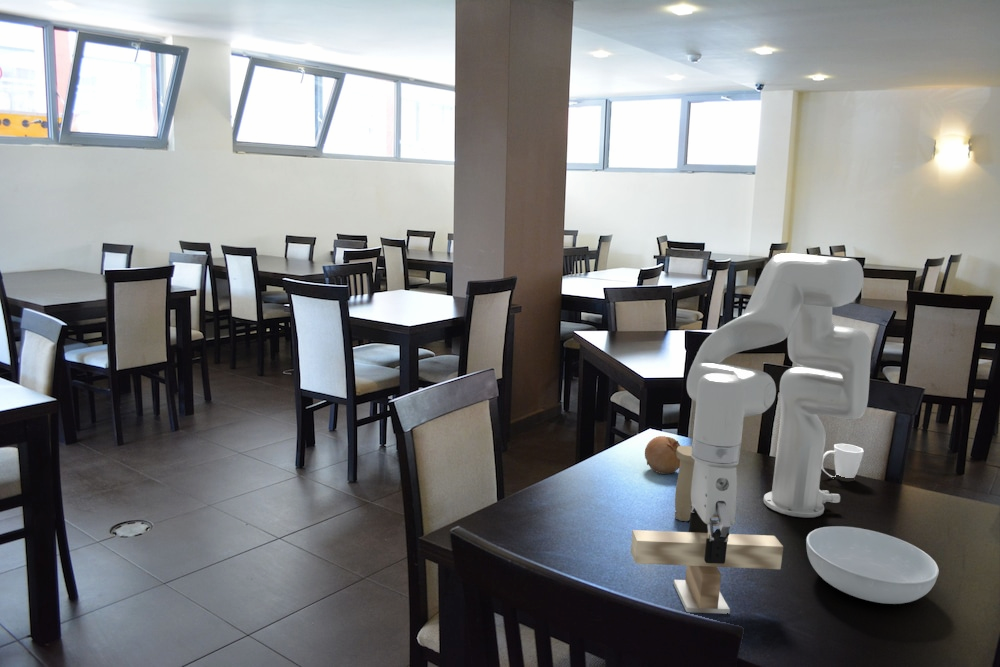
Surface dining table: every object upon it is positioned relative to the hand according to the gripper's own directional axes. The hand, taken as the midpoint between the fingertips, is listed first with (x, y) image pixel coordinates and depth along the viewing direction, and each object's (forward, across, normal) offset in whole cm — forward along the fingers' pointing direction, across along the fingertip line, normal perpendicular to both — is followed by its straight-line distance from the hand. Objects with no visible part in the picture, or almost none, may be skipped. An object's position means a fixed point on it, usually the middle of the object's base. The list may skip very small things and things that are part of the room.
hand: (705, 548), depth 124 cm
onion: (+10, +60, -7) cm, 61 cm away
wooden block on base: (+9, 0, 0) cm, 9 cm away
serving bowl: (+9, +6, -31) cm, 33 cm away
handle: (+9, +32, -5) cm, 34 cm away
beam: (+2, 0, 0) cm, 2 cm away
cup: (+10, +60, -51) cm, 79 cm away
